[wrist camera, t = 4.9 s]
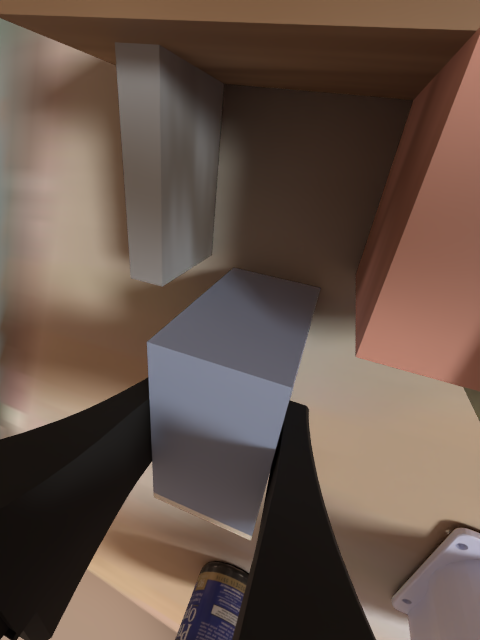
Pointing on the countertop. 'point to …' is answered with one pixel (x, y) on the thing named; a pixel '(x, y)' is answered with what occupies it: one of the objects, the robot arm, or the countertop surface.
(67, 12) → the shelf
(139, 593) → the countertop surface
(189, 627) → the pill bottle
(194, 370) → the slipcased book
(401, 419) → the countertop surface
